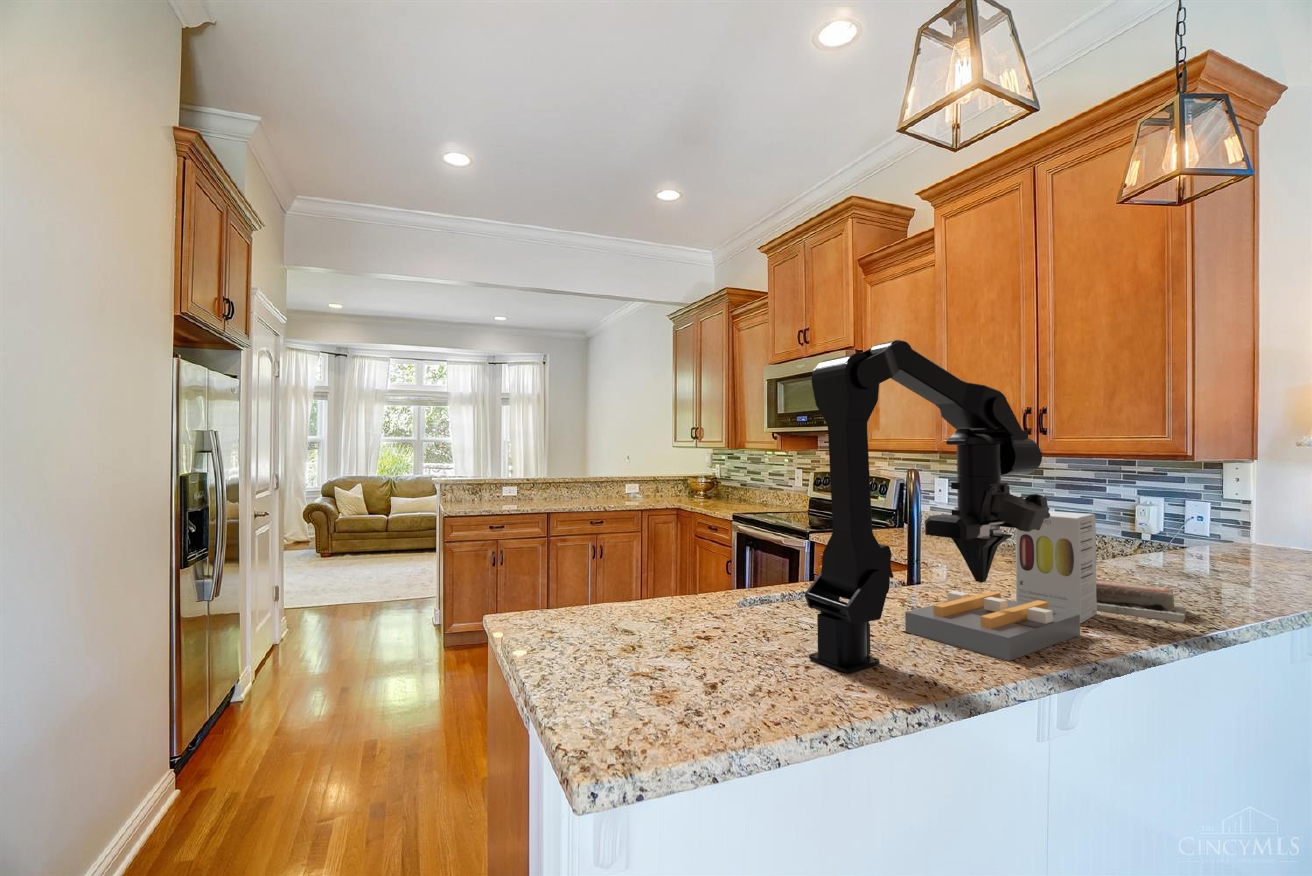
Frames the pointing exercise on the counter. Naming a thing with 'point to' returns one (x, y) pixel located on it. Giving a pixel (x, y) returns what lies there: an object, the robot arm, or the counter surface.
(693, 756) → the counter surface
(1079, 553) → the supplement box
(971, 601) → the orange wooden bar
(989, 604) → the block
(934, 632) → the breaker panel
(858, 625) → the robot arm
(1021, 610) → the orange bar
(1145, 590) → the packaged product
